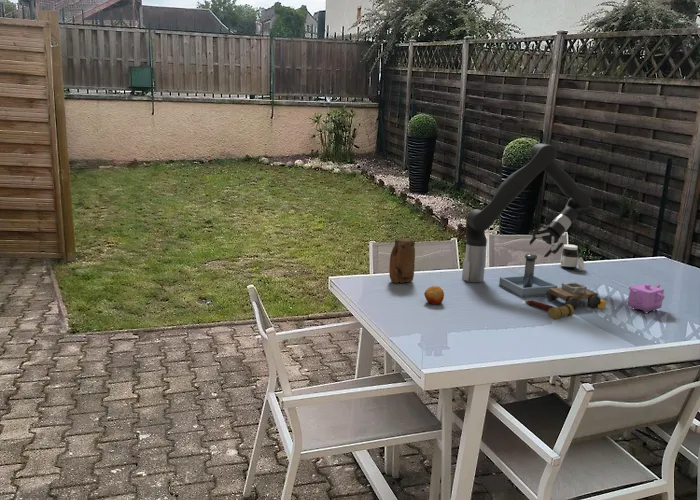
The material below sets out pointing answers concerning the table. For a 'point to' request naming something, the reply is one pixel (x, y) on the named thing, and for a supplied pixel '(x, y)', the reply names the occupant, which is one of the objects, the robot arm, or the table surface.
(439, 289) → the fruit
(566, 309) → the gavel
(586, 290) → the wheeled pole base
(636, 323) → the table surface
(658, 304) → the teapot
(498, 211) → the robot arm
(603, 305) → the wheel chock
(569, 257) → the spread jar
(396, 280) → the block
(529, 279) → the pin
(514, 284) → the tray
